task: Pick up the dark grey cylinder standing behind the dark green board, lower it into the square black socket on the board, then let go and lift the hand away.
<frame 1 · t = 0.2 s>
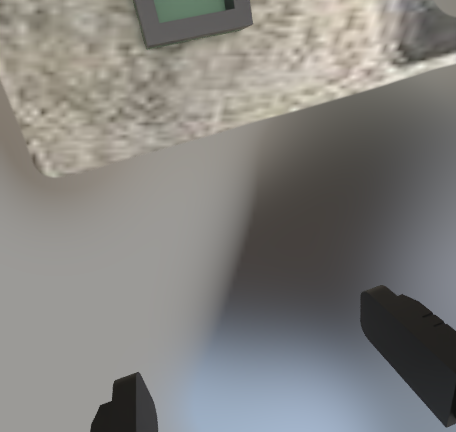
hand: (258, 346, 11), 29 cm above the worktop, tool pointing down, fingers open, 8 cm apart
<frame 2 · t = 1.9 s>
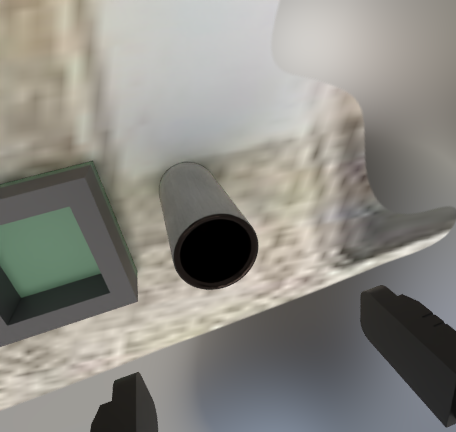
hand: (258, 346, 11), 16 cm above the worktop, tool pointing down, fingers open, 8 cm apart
dark grey cylinder: (187, 188, 25), on the worktop
socket board: (51, 240, 24), on the worktop
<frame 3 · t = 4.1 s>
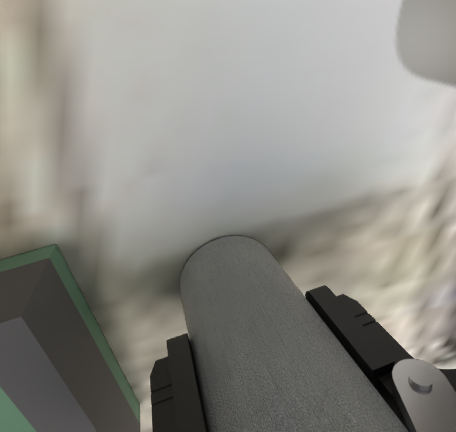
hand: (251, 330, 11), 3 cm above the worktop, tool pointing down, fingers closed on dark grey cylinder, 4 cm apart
dark grey cylinder: (226, 275, 15), on the worktop, touching gripper
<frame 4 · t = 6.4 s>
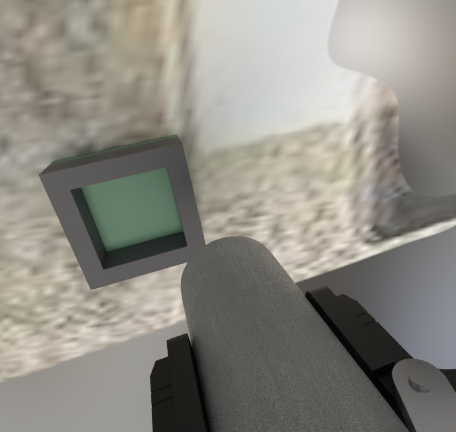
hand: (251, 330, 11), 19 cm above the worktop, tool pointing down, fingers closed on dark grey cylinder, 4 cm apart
dark grey cylinder: (227, 276, 15), point 15 cm above the worktop, touching gripper
socket board: (134, 202, 28), on the worktop
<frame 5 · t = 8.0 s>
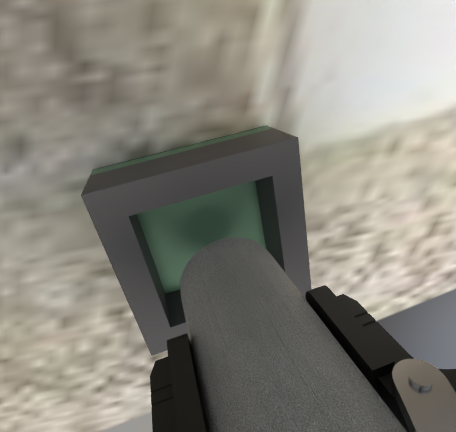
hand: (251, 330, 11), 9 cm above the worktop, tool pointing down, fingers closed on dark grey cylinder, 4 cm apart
dark grey cylinder: (227, 276, 15), point 6 cm above the worktop, touching gripper
socket board: (203, 224, 20), on the worktop
when the fingers open (5 cm above the worktop, at t = 9.2 s): dark grey cylinder stays where it is, resting on socket board.
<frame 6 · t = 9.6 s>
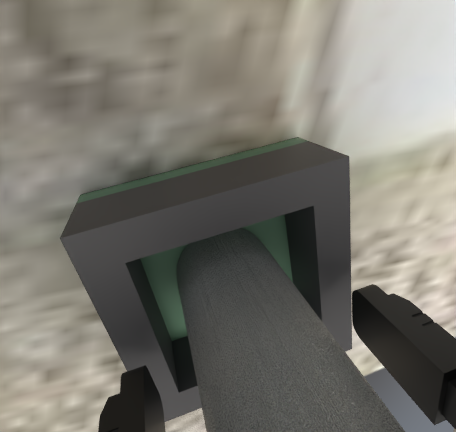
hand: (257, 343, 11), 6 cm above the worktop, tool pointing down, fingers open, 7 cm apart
dark grey cylinder: (221, 264, 15), point 1 cm above the worktop, touching socket board
socket board: (217, 256, 16), on the worktop
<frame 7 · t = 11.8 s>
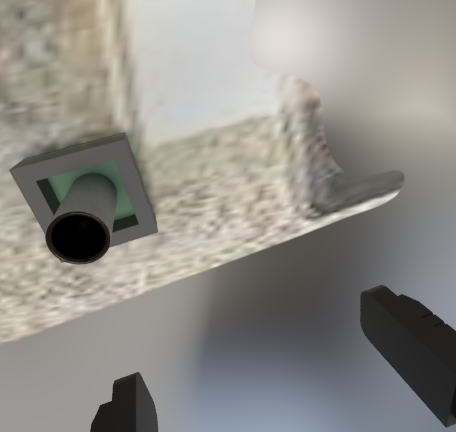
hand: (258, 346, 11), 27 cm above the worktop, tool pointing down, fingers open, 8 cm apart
dark grey cylinder: (94, 193, 33), point 1 cm above the worktop, touching socket board
socket board: (95, 190, 33), on the worktop
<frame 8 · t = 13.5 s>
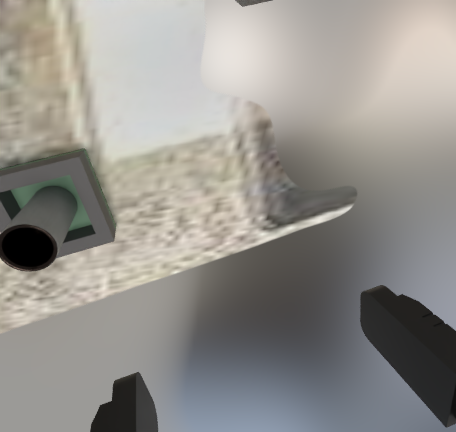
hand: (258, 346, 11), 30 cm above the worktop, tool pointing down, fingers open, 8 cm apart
dark grey cylinder: (56, 203, 35), point 1 cm above the worktop, touching socket board
socket board: (57, 201, 36), on the worktop
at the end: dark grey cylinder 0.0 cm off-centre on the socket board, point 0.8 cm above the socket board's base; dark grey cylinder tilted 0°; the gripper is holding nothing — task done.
